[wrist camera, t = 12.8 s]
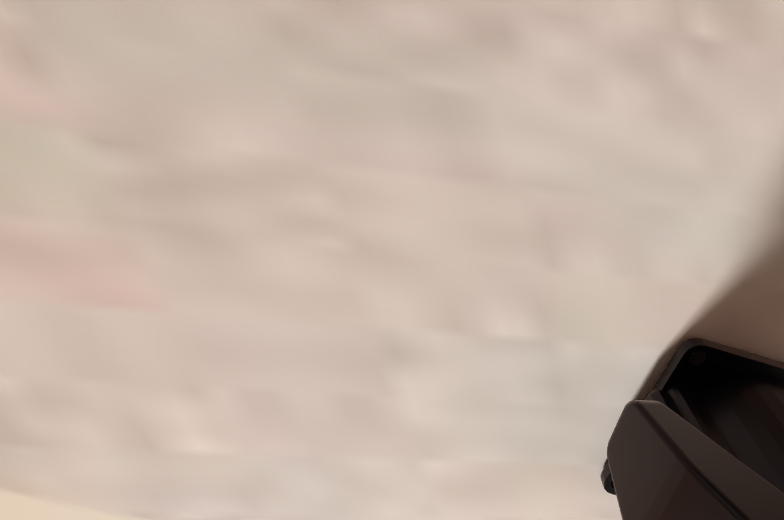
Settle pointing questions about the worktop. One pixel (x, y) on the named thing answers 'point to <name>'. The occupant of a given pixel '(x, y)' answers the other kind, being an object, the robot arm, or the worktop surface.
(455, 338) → the worktop surface
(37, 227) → the worktop surface
